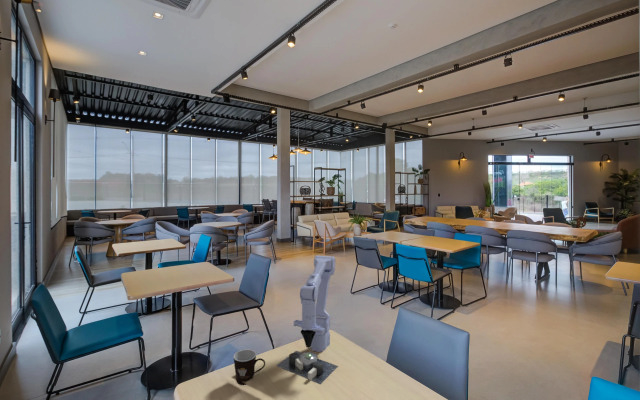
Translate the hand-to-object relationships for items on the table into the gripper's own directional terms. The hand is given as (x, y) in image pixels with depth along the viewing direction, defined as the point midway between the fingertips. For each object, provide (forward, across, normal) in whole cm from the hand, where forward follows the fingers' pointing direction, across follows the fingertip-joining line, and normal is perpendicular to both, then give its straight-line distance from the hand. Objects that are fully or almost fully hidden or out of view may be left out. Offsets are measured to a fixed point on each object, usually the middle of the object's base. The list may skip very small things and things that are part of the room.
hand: (308, 346), depth 127 cm
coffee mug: (+10, -15, -20) cm, 27 cm away
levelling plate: (+9, 0, -1) cm, 9 cm away
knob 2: (+8, +6, -4) cm, 11 cm away
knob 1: (+8, -4, -3) cm, 9 cm away
